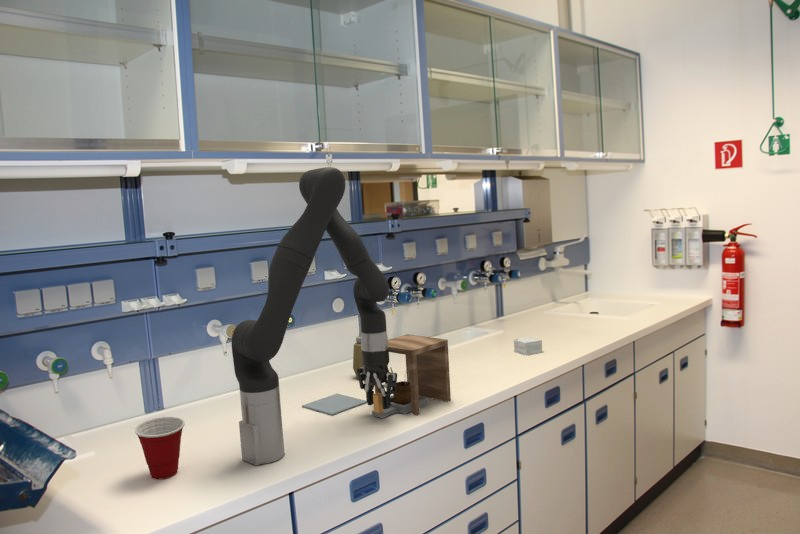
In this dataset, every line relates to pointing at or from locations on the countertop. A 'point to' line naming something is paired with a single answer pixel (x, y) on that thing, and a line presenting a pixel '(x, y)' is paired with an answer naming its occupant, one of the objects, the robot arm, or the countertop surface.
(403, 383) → the utensil holder
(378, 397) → the sliding frame
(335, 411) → the slate mat
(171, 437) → the plastic cup
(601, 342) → the countertop surface
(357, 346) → the squeeze bottle
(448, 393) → the walnut shelf
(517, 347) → the small box
